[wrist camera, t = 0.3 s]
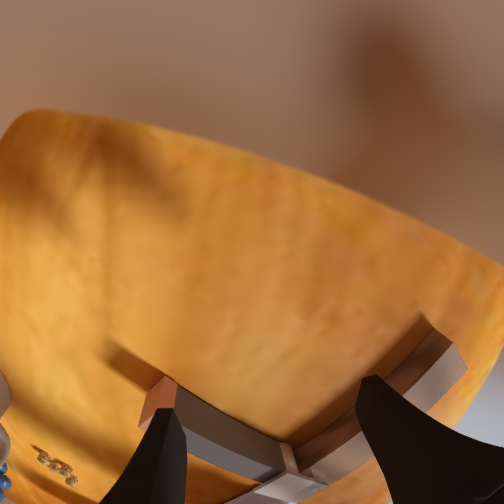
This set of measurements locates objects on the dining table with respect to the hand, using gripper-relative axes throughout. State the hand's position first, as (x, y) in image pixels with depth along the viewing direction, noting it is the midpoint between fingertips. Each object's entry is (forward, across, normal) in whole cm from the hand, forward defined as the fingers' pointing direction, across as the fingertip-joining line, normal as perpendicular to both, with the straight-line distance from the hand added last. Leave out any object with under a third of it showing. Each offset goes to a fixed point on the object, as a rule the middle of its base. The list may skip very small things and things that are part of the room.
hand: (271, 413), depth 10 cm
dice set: (+8, +26, +23) cm, 36 cm away
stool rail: (+9, -9, +15) cm, 19 cm away
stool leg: (+8, +3, +13) cm, 16 cm away
